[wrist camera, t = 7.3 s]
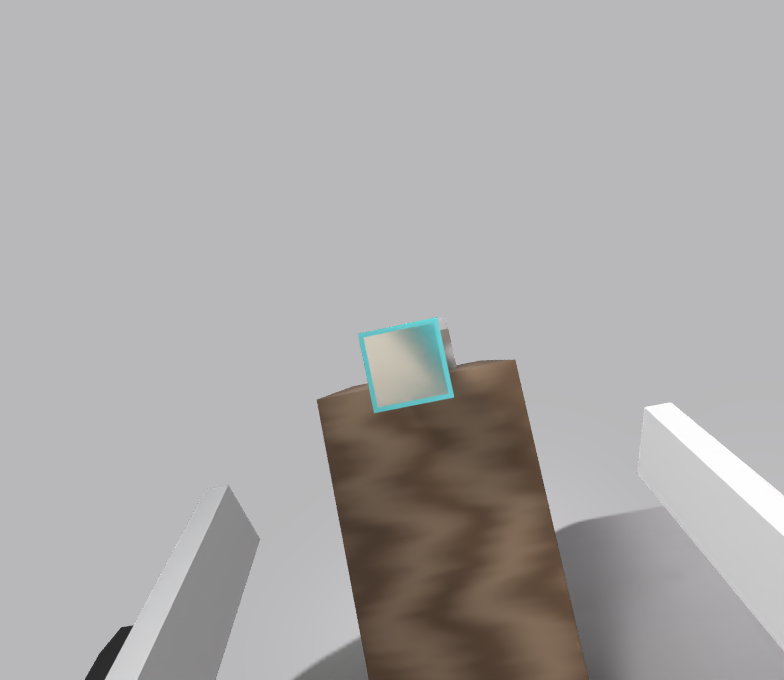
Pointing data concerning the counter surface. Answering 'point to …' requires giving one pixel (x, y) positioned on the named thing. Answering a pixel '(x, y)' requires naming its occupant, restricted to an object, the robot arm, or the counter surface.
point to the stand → (451, 533)
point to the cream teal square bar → (406, 365)
